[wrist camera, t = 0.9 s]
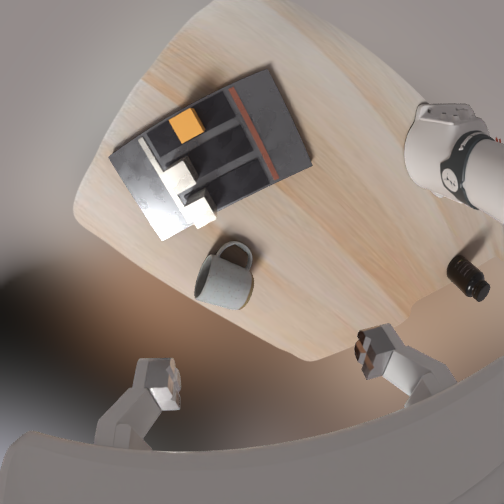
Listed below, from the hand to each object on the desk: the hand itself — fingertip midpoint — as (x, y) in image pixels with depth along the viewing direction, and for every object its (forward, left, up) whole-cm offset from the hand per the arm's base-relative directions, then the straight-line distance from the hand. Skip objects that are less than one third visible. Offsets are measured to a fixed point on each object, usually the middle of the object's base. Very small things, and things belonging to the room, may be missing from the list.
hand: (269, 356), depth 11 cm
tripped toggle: (+2, -10, -32) cm, 33 cm away
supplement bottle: (-39, +42, -34) cm, 67 cm away
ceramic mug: (+9, +14, -34) cm, 38 cm away
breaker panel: (+2, -4, -34) cm, 34 cm away
